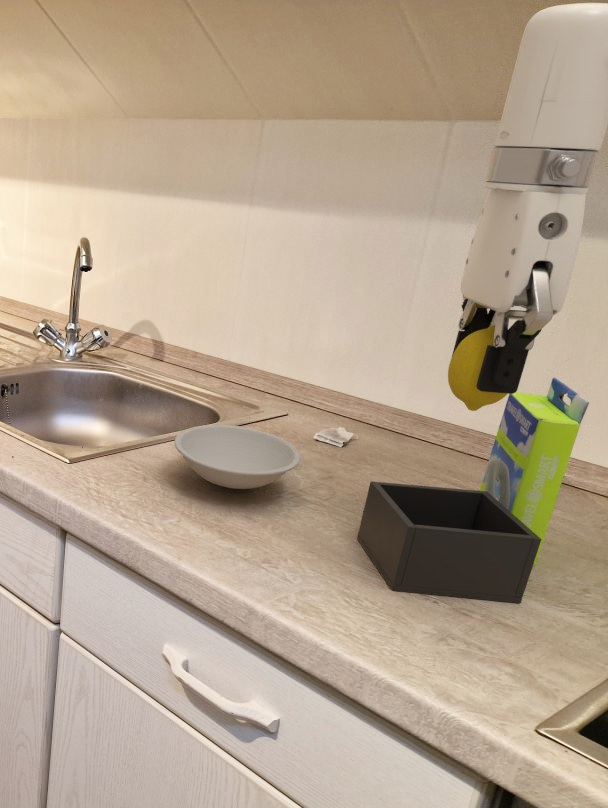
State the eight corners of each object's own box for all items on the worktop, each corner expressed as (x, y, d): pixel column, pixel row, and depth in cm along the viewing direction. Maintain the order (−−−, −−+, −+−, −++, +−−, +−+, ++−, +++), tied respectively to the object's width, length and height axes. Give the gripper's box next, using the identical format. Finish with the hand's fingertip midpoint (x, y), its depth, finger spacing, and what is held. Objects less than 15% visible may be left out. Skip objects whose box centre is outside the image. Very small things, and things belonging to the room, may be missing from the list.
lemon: (434, 399, 82) (456, 316, 79) (499, 407, 81) (523, 323, 78) (443, 414, 77) (466, 327, 74) (512, 423, 76) (538, 334, 73)
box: (468, 521, 96) (512, 371, 89) (509, 527, 95) (556, 376, 88) (493, 561, 86) (544, 397, 80) (539, 568, 85) (594, 403, 79)
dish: (295, 524, 93) (304, 481, 91) (162, 503, 97) (168, 461, 95) (290, 470, 109) (297, 433, 107) (175, 454, 112) (180, 418, 111)
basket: (470, 549, 89) (487, 491, 86) (520, 603, 78) (542, 539, 76) (356, 538, 90) (370, 480, 88) (391, 590, 80) (408, 526, 77)
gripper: (648, 179, 63) (572, 413, 70) (537, 172, 79) (484, 363, 86) (540, 173, 64) (475, 405, 71) (452, 168, 80) (406, 357, 86)
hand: (480, 380), depth 78 cm, fingers closed on lemon, 5 cm apart
